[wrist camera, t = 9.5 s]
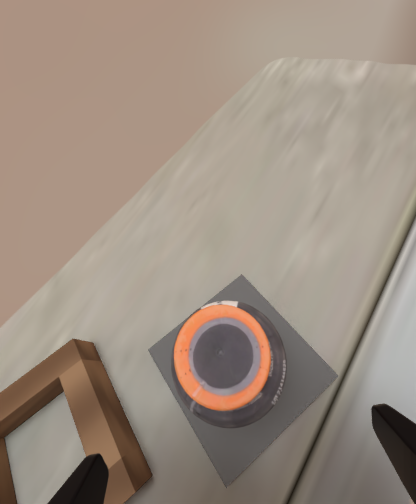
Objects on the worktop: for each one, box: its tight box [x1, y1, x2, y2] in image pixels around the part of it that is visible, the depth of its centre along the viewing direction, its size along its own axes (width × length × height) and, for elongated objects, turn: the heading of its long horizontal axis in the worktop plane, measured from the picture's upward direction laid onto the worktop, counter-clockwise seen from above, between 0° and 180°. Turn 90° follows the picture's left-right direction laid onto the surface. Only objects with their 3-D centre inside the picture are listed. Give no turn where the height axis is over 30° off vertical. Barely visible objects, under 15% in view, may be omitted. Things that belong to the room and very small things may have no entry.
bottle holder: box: [0, 339, 152, 504], centre depth 18 cm, size 12×12×3 cm
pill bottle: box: [171, 301, 287, 428], centre depth 14 cm, size 6×6×11 cm
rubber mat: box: [148, 275, 338, 488], centre depth 20 cm, size 11×11×1 cm
